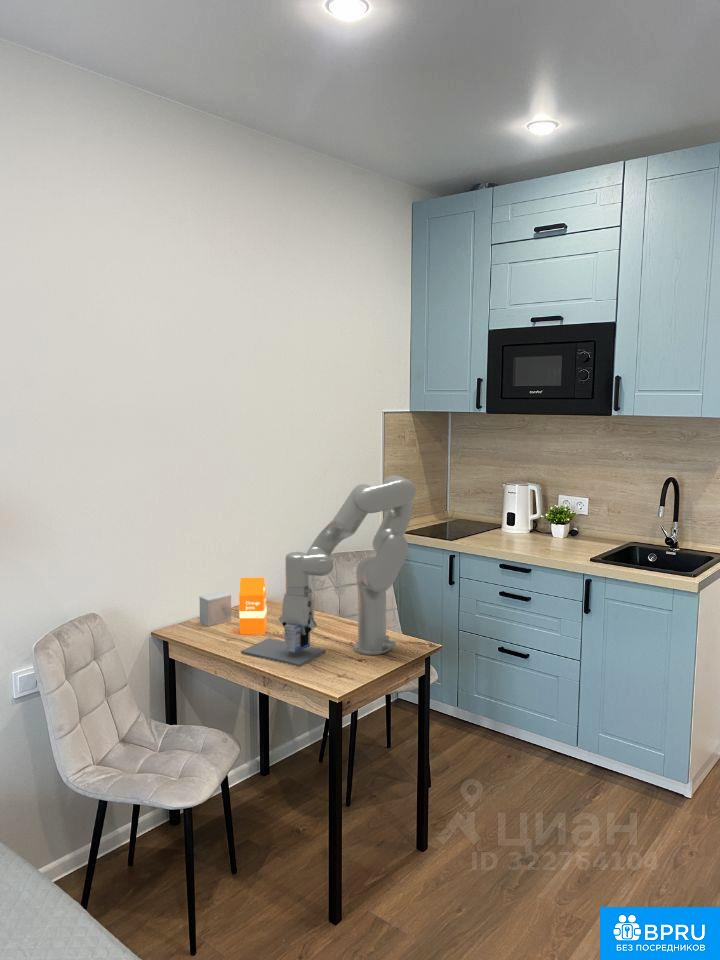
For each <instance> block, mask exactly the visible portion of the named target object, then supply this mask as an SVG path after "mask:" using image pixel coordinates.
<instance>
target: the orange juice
mask: <svg viewBox="0 0 720 960" xmlns="http://www.w3.org/2000/svg"><path fill="white" fill-rule="evenodd" d="M265 580H266V579H265V577H240V581H239V595H238V597H239V598H238V600H239V604H238V605H239V634H240V635H265V632H266V631H267V628H268V626H267V625H268V623H267V622H268V621H267V618H268V617H267V616H268V615H267V612H268V611H267V589H266V581H265ZM265 630H266V631H265Z"/></svg>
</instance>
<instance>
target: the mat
mask: <svg viewBox="0 0 720 960" xmlns="http://www.w3.org/2000/svg"><path fill="white" fill-rule="evenodd" d="M241 653H242V655H246V656H250V655H251V656H252V657H255V656H256V657H255V658H259V657H261V658H260V659H263V658H266V659H265V660H268V659H270V660H269V661H272V660H274V662H277V661H279V662H278V663H281V662H283V663H282V664H286V663H287V664H286V665H290V664H291V665H290V666H294V665H296V667H299V666H301V667H302V666H304V665H306V664H308V663H309V662H311V661H313V660H315V659H316V658H318V657H320V656H321V654H322V655H323V654H325V653H326V649H323V648H318V647H314V646H311V645H310V646H309V647H307V648H304V649H302V650H300V651H298V652H295V653H294V652H291V651H287V650H285V640H281V639H275V638H270V637H268V638H266V639H263V640H262V641H260V642H258V643H255V644H253V645H250V646H248V647H246V648H244V649H243V650H240V654H241ZM314 658H315V659H314ZM312 659H313V660H312ZM307 662H308V663H307ZM305 663H306V664H305ZM303 664H304V665H303Z"/></svg>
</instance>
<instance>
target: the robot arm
mask: <svg viewBox="0 0 720 960" xmlns="http://www.w3.org/2000/svg"><path fill="white" fill-rule="evenodd" d="M416 493H417V492H416V486H415V485H414V483H413V482H412V481H411V480H409V479H408V478H405V477H403V476H400V475H389V476H387V477H386V478H385V479H384V480H383V482H382V484H380V485H373V486H372V485H369V484H365V483H363V484H362V483H361V484H358V485H357V486H355V487H354V488H353V489H352V491H350V494H349V495H348V496H347V498H346V499H345V501H344V502H343V503H342V505H341V507H340V508H339V510H338V511H337V513H336V515H334V517H333V518H332V520H331V521H330V522H329V523H328V524H327V525H326V526H325V527H324V528H322V530H321V531H320V532H319V534H318V535H317V536H316V538H315V539H314V541H313V542H312V543H311V545H310V546H309V548H308V549H307V551H306V552H302V551H293V552H289V553H287V554H286V555H285V593H284V594H283V599H282V607H281V608H282V609H281V610H282V611H281V615H280V616H279V618H278V621H279V622H280V624H282V626H283V628H284V629H285V625H287V624H295V625H299V626H301V630H302V635H301V646H302V647H304V646H306V645H307V644H308V633H310V634H311V631H313V630H314V628H316V627H317V626H318V624H317V623H316V621H315V614H314V613H315V612H314V602H313V598H312V597H313V596H312V594H311V593H312V589H311V588H310V581H309V580H310V577H309V576H316V577H323V576H327V575H329V574H330V573H331V572H332V571H333V569H334V560H333V558H332V557H331V554H332V553H333V551H334V550H335V549H336V547H337V546H338V545H339V544H340V543H341V542H342V541H343V540H345V539H348V538H350V537H352V536H353V535H354V534H355V533H356V532H357V531H358V529H359V527H360V526H361V524H362V523H363V522H364V520H365V519H366V517H367V515H368V514H375V513H379V512H380V513H381V512H384V511H386V512H385V515H384V517H383V519H382V521H381V523H380V526H379V527H378V529H377V531H376V533H375V535H374V537H373V540H372V547H373V550H374V551H375V554H376V555H375V556H370V555H369V556H365V557H363V558H362V559H361V560H360V561H359V562H358V564H357V566H356V571H355V573H356V574H355V575H356V584H357V585H356V586H357V641H356V642H355V643H354V644H353V650H354V651H355V652H357V653H359V654H362V655H369V656H370V655H371V656H372V655H373V656H375V655H377V656H378V655H382V654H385V653H388V652H389V651H390V650H391V649H392V650H396V647H397V644H396V643H397V642H396V641H395V640H390V636H389V635H387V591H388V590H389V589H390V588H391V587H392V585H393V584H394V583H395V580H396V578H397V576H398V575H399V573H400V570H401V569H402V566H403V564H404V562H405V560H406V559H407V556H408V551H409V545H408V544H409V543H408V541H407V539H406V538H405V537H404V535H405V533H406V532H407V530H408V527H409V525H410V522H411V520H412V519H411V518H412V515H413V500H414V498H415V497H416ZM308 623H310V626H309V624H308ZM305 628H306V630H305Z"/></svg>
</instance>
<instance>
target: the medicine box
mask: <svg viewBox="0 0 720 960" xmlns="http://www.w3.org/2000/svg"><path fill="white" fill-rule="evenodd" d="M308 624H309V626H310V623H308ZM305 630H306V628H305ZM301 635H302V630H301V626H299V625H295V624H287V625H285V628H284V641H285V650H287V651H291V652H294V653H295V652H298V651H300V650H302V649H304V648H307V647H309V646H310V647H311V632H310V633H308V644H307V645H306V646H304V647H302V646H301Z"/></svg>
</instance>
